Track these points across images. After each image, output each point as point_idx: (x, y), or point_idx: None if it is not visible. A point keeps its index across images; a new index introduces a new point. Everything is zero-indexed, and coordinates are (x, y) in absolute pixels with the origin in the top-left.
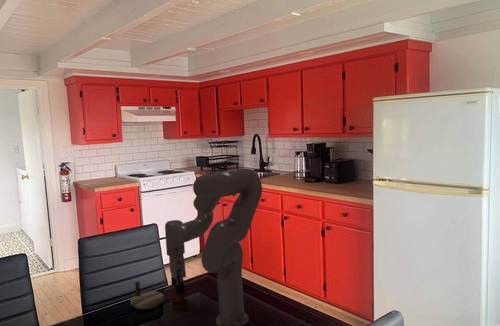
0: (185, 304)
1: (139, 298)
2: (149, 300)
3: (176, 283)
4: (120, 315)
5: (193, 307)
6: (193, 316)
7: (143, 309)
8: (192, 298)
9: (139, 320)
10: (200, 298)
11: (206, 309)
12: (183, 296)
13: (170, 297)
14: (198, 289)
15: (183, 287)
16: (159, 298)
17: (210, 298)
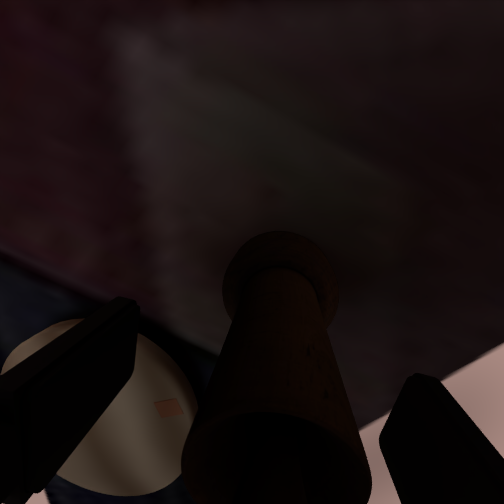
0: (335, 278)
1: (76, 449)
2: (139, 431)
3: (229, 450)
4: (157, 495)
5: (351, 216)
6: (478, 285)
7: None
8: (203, 145)
9: None
10: (247, 90)
11: (471, 156)
12: (316, 302)
13: (94, 255)
14: (66, 10)
15: (493, 468)
16: (148, 382)
17: (311, 10)
